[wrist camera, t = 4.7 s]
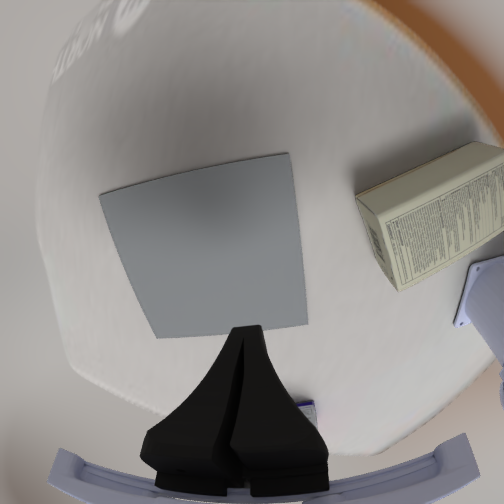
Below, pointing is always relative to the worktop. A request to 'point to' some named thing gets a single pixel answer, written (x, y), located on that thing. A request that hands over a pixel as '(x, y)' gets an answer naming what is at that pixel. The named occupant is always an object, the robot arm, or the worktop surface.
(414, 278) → the skincare box
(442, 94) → the worktop surface
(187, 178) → the rubber mat
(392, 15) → the worktop surface
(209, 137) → the worktop surface
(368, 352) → the worktop surface
